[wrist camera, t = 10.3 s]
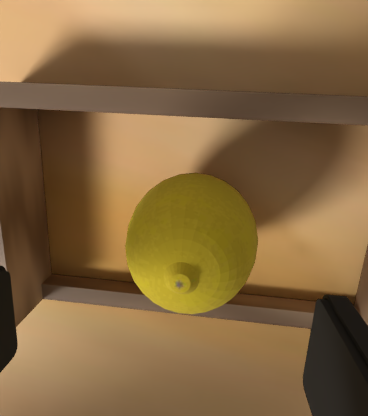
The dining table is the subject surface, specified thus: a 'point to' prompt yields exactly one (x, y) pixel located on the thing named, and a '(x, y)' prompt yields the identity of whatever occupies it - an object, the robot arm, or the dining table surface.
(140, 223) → the lemon
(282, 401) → the dining table surface
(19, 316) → the box
